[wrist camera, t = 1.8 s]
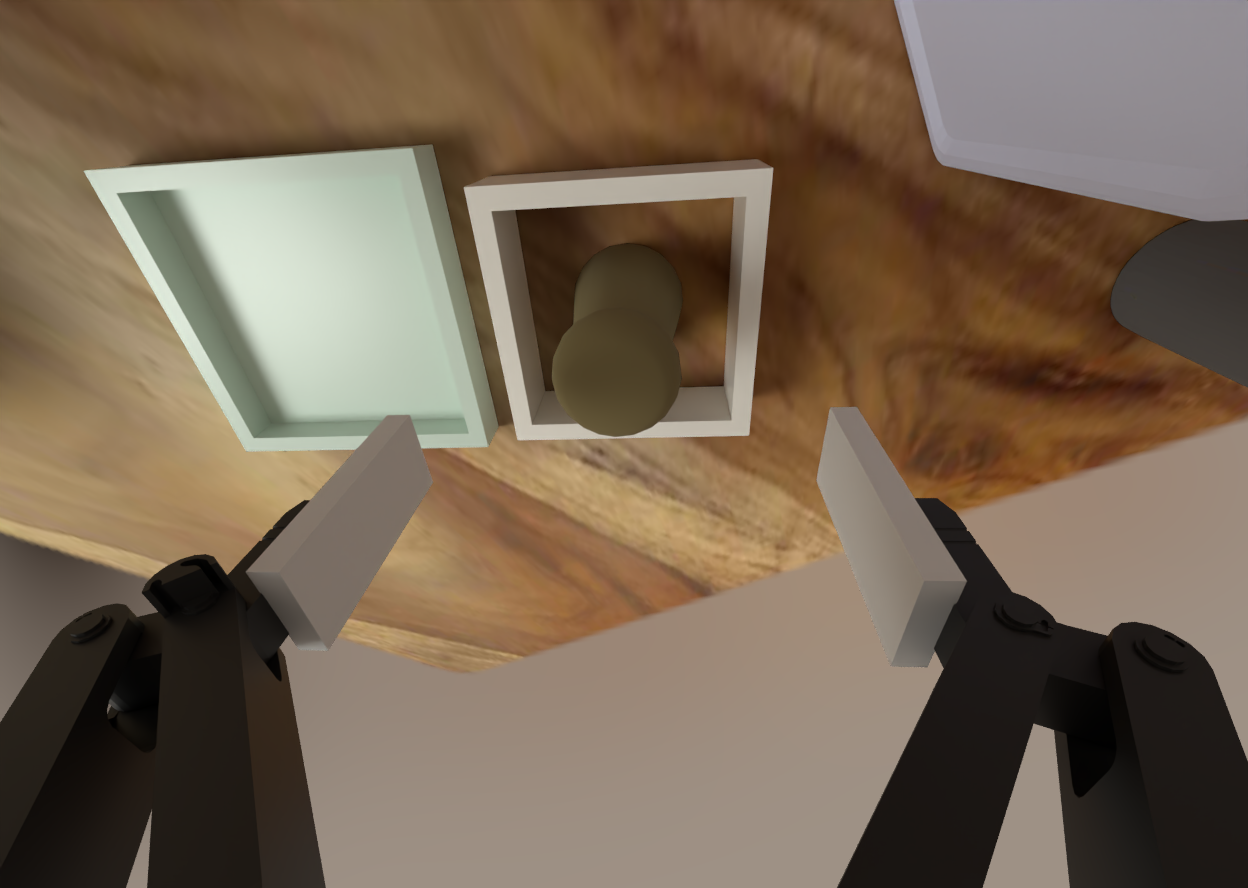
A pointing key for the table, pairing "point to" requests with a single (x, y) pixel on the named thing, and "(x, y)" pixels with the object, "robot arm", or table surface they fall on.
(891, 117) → the table surface
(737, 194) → the frame
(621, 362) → the cork
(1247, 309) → the bottle
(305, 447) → the tray
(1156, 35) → the soap bottle
